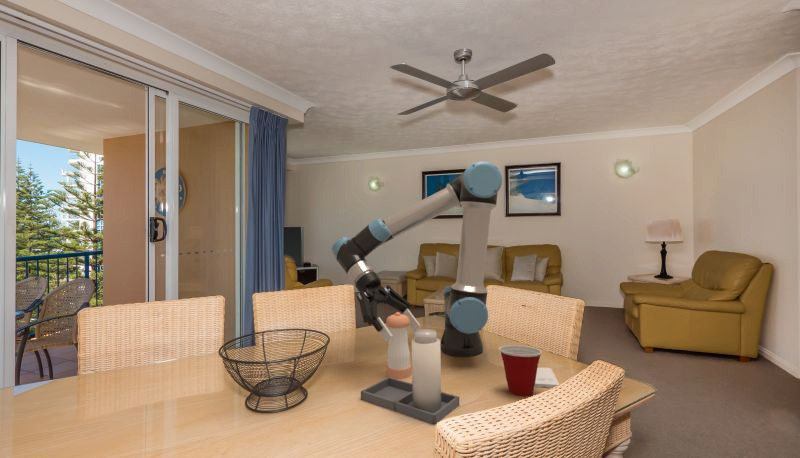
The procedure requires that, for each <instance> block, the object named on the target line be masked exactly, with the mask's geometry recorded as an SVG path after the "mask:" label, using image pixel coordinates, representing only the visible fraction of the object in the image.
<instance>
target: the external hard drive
mask: <svg viewBox="0 0 800 458" xmlns="http://www.w3.org/2000/svg"><path fill="white" fill-rule="evenodd" d="M559 384H560V382H559V380H558V379H557V376H556V375H555V372H554V371H553V369H552V368H551V367H539V366H538V368H537V374H536V381H535V385H534V388H546V389H553V388H552V387H555V386H557V385H559Z"/></svg>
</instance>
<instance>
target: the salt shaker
mask: <svg viewBox="0 0 800 458" xmlns="http://www.w3.org/2000/svg"><path fill="white" fill-rule="evenodd" d="M437 334H438V333H437V330H435V329H429V328H423V329H422V328H420V329H417V330H416V331H414V338H412V339H411V376H412V378H411V379H412V380H411V383H412V390H413V407H415V408H418V409H421V410H424V411H427V412H430V413H433V414H434V413H435V412H437V411H438V410H439V409H441V408H442V405H441V392H442V366H441V363H442V361H441V359H442V358H441V356H442V355H441V354H442V352H441V350H440V342H441V339H440V338H439V337H438V335H437Z"/></svg>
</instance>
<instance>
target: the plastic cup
mask: <svg viewBox="0 0 800 458" xmlns="http://www.w3.org/2000/svg"><path fill="white" fill-rule="evenodd" d="M498 350H499V352H500V355H501V358H502V363H503V367H504V368H503V369H504V372H505V374H504V375H505V379H506V383H507V388H508V392H509V393H510V394H512V395H515V396H519V397H527V396H528V397H531V396H532V397H533V396H534V395H533V394H534V393H535V392H534V391H535V390H534V389H535V387H534V385H535V381H536V374H537V368H538V367H539V361H540V358H541V355H542V354H543V351H542V350H541V349H540V348H538V347H533V346H528V345H522V344H521V345H520V344H518V345H517V344H507V345H502V346H499V347H498Z"/></svg>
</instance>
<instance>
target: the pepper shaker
mask: <svg viewBox="0 0 800 458" xmlns="http://www.w3.org/2000/svg"><path fill="white" fill-rule="evenodd" d="M409 324H410V320H409V318H408V317H407V316H406V315H403V313H401V311H397V312H395V313H394V314H390V315H389V316H388V317H387V318H386V319H385V325H386V327H387V328H388V330H389V331H390V333H391V334H392V335H393V336H392V337H391V338H390V340H389V341H388V346H387V365H386V378H388V377H391V378H394V379H398V380H403V379H408V378H410V377H411V376H412V363H411V361H410V360H411V352H410V347H409V342H408V327H409V326H410V325H409Z"/></svg>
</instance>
